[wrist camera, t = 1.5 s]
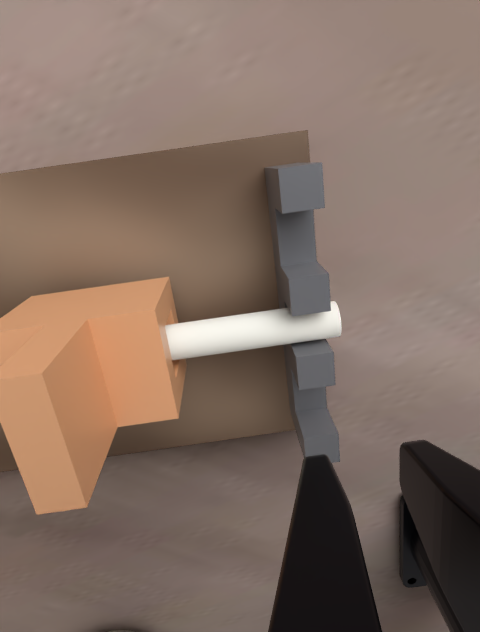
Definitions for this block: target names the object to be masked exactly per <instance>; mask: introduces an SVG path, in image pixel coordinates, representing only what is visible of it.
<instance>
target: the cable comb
mask: <svg viewBox="0 0 480 632" xmlns="http://www.w3.org/2000/svg"><path fill="white" fill-rule="evenodd" d="M265 177H266V187H267V196H268V205H269V215H270V224H271V234H272V243H273V253H274V262H275V271H276V281H277V290H278V300H279V309H282V308H288V309H289V311H290V313H291V315H292V316H299V315H306V314H313V313H320V312H327V311H331V303H330V286H329V273H328V272H327V271H326V270H325V269H324V268H323V267H322V266H321V265H320V264H319V263H318V262H317V259H316V244H315V230H314V216H313V209H320V208H325V203H324V187H323V170H322V162H321V163H293V164H286V165H279V166H272V167H265ZM283 347H284V356H285V366H286V375H287V385H288V394H289V403H290V412H291V415H292V419H293V422H294V425H295V429H296V432H297V436H298V439H299V443H300V446H301V449H302V453H303V456H304V458H305V457H307V456H313V455H320V454H325V455H327V456H328V457H329V459H330V461H331V463H333V462H340V452H339V436H338V431H337V429H336V427H335V425H334V422H333V420H332V418H331V416H330V413H329V411H328V409H327V402H326V387H325V386H332V385H335V369H334V353H333V351H332V349H331V347H330V346H329V344H328V342H327V341H326V339H319V340H312V341H305V342H298V343H291V344H284V345H283Z"/></svg>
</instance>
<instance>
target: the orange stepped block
mask: <svg viewBox="0 0 480 632" xmlns="http://www.w3.org/2000/svg"><path fill="white" fill-rule="evenodd" d="M177 323H178V319H177V314H176V309H175V304H174V299H173V294H172V289H171V284H170V279H169V277H163V278H156V279H149V280H142V281H135V282H128V283H121V284H114V285H107V286H100V287H93V288H86V289H79V290H71V291H64V292H57V293H50V294H43V295H36V296H31V297H30V298H28V299H27V300H25V301H24V302H23V303H21V304H20V305H18V306H17V307H16V308H14V309H13V310H11V311H10V312H9V313H7V314H6V315H4V316H3V317H1V318H0V423H1V425H2V428H3V430H4V433H5V435H6V438H7V440H8V443H9V446H10V448H11V451H12V453H13V456H14V458H15V461H16V463H17V466H18V468H19V471H20V473H21V476H22V478H23V481H24V484H25V486H26V489H27V491H28V494H29V496H30V499H31V501H32V504H33V506H34V509H35V511H36V514H37V515H38V514H45V513H52V512H59V511H66V510H73V509H80V508H87V506H88V504H89V501H90V498H91V496H92V493H93V490H94V488H95V485H96V483H97V480H98V477H99V475H100V472H101V469H102V467H103V464H104V462H105V459H106V456H107V454H108V451H109V448H110V446H111V443H112V441H113V438H114V435H115V433H116V430H117V427H122V426H129V425H136V424H143V423H150V422H157V421H164V420H171V419H178V418H179V412H180V406H181V399H182V393H183V386H184V380H185V373H186V367H187V364H186V359H179V360H172V358H171V353H170V349H169V344H168V339H167V334H166V330H165V326H166V325H170V324H177Z"/></svg>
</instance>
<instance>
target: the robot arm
mask: <svg viewBox="0 0 480 632" xmlns="http://www.w3.org/2000/svg"><path fill="white" fill-rule="evenodd" d="M400 486H401V490H402V493H403V496H402V497H401V500H400V577H401V580H402V582H403V584H404V585H405V586H406V587H418V586H425V585H427V586H428V588H429V590H430V592H431V594H432V596H433V598H434V600H435V602H436V604H437V606H438V608H439V610H440V612H441V614H442V616H443V618H444V620H445V622H446V624H447V626H448V628H449V630H450V632H480V470H478V469H476V468H475V467H473V466H471V465H469V464H467V463H466V462H464V461H462V460H460V459H459V458H457V457H455V456H453V455H451V454H450V453H448V452H446V451H444V450H442V449H441V448H439V447H437V446H435V445H433V444H432V443H430V442H428V441H426V440H417V441H410V442H404V443H403V444H402V445H401V446H400ZM268 632H382V630H381V625H380V621H379V617H378V613H377V609H376V605H375V601H374V597H373V593H372V589H371V584H370V580H369V576H368V572H367V568H366V564H365V560H364V556H363V552H362V548H361V543H360V539H359V535H358V531H357V527H356V523H355V519H354V515H353V512H352V508H351V505H350V503H349V500H348V498H347V496H346V493H345V491H344V489H343V487H342V485H341V483H340V480H339V478H338V476H337V474H336V472H335V470H334V468H333V465H332V463H331V461H330V459H329V457H328V456H327V455H325V454H320V455H313V456H307V457H305V458H304V460H303V464H302V469H301V474H300V479H299V484H298V489H297V494H296V499H295V503H294V508H293V513H292V518H291V523H290V528H289V533H288V538H287V542H286V547H285V552H284V557H283V562H282V567H281V572H280V577H279V581H278V586H277V591H276V596H275V601H274V606H273V611H272V615H271V620H270V625H269V630H268Z"/></svg>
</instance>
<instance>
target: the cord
mask: <svg viewBox="0 0 480 632" xmlns="http://www.w3.org/2000/svg"><path fill="white" fill-rule="evenodd" d="M330 303H331V311H327V312H320V313H313V314H306V315H299V316H292V315H291V313H290V311H289V309H288V308H282V309H275V310H268V311H261V312H254V313H247V314H240V315H233V316H226V317H219V318H212V319H205V320H198V321H191V322H184V323H177V324H170V325H166V326H165V330H166V334H167V339H168V344H169V349H170V353H171V358H172V360H179V359H186V358H193V357H200V356H207V355H214V354H221V353H228V352H235V351H242V350H249V349H256V348H263V347H270V346H277V345H284V344H291V343H298V342H305V341H312V340H319V339H326V338H333V337H340V335H341V317H340V312H339V309H338V306H337V304H336V302H335V301H331V302H330Z"/></svg>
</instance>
